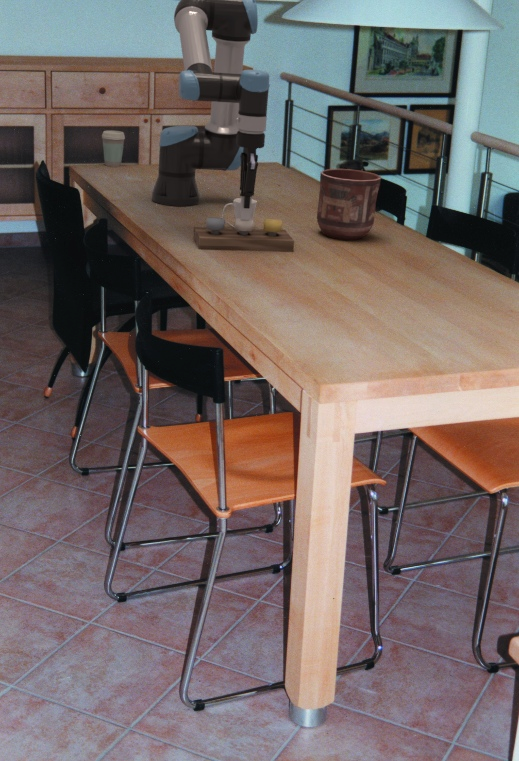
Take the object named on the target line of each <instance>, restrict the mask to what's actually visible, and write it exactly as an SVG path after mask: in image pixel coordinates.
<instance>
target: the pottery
mask: <svg viewBox="0 0 519 761" xmlns="http://www.w3.org/2000/svg"><path fill="white" fill-rule="evenodd" d="M319 177H320V178H319V194H318V195H319V197H318V203H317V212H316V213H317V214H316V215H317V216H316V223H317V224H318V226H319V227H318V228H319V229H320V230H321V231H322V233H323V234H324V235H325V236H326V237H328V238H331V239H336V240H343V241H344V240H346V241H356V240H361V239H363V238H364V237H365V236H366V235H367V234H369V233H370V232H371V230H372V228H373V227H374V226H373V225H374V222H375V215H376V204H377V203H376V202H377V198H378V193H379V190H380V186H381V182H382V181H381V180H382V177H381V176H380V175H378V174H376V173H373V172H369V171H363V170H357V169H350V168H347V169H346V168H330V169H324V170H322V171H320V175H319Z"/></svg>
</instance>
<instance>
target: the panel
mask: <svg viewBox="0 0 519 761" xmlns="http://www.w3.org/2000/svg"><path fill="white" fill-rule="evenodd" d="M193 240H194V241H195V244H196V245H197V246H196V247H198V249H199V250H218V251H219V250H220V251H221V250H223V251H225V250H226V251H229V250H230V251H257V252H258V251H259V252H260V251H262V252H263V251H265V252H271V251H272V252H294V250H295V239H293V238H292V237H291V235H290V234H289V233H288V231H287V230H286V229H282V230H281V232H277V233H276V236H268V231H265V230H263V228H253V230H252V231H248V235H239V230H236V229H235V228H234V227H224V230H220V231H219V235H215V234H211V230H209V229H207V228H206V227H205V226H204V227H203V226H194V227H193Z"/></svg>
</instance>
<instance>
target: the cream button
mask: <svg viewBox="0 0 519 761" xmlns="http://www.w3.org/2000/svg"><path fill="white" fill-rule="evenodd" d="M254 221H255V220H254V219H253V220H252V219H250V220H240V218H236V221H235V222H234V226H235V229H236V230H239V235H248V231H252V230H253V229H254V224H255V222H254Z"/></svg>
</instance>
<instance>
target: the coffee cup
mask: <svg viewBox="0 0 519 761" xmlns="http://www.w3.org/2000/svg"><path fill="white" fill-rule="evenodd" d="M101 139H102V147H103V148H102V149H103V160H104V166H106V167H111V168H117V167H121V166H122V158H123V152H124V151H123V150H124V147H125V146H124V144H125V139H126V136H125V133H124V132H123V131H120V130H104V131H103V132H102V134H101Z"/></svg>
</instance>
